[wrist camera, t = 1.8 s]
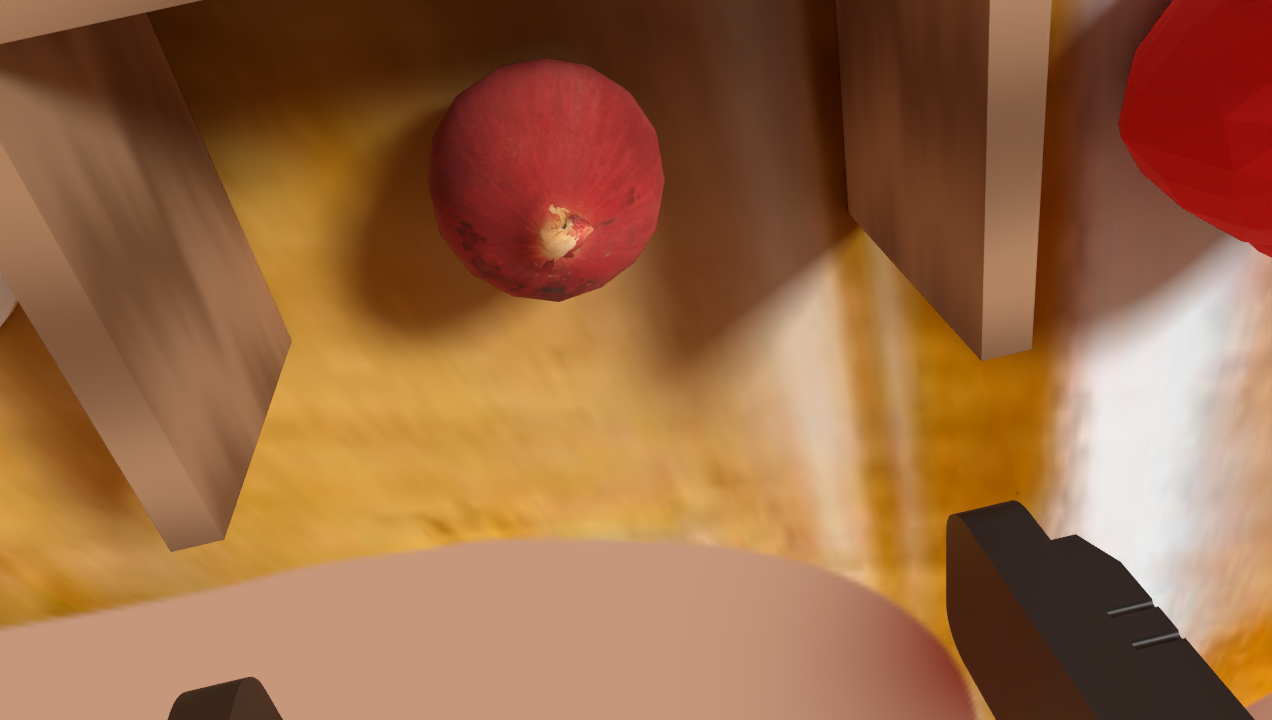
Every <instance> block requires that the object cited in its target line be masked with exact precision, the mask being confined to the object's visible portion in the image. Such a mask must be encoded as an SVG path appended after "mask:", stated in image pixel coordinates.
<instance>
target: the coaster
mask: <svg viewBox="0 0 1272 720" xmlns="http://www.w3.org/2000/svg"><path fill="white" fill-rule="evenodd" d="M17 304H18V300H17V299H16V297H15V296H14V294H13V292H12V291H11V289H10V287H9V286H8V284H7V282H6V281H5V279H4V278H3V276H2V274H1V273H0V327H1V326H2V325H3V323H4V322H5V321H6V320H7V318H8V317H9V316H10V315H11V313H12V312H13V311H14V310H15V308H16V306H17Z"/></svg>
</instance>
